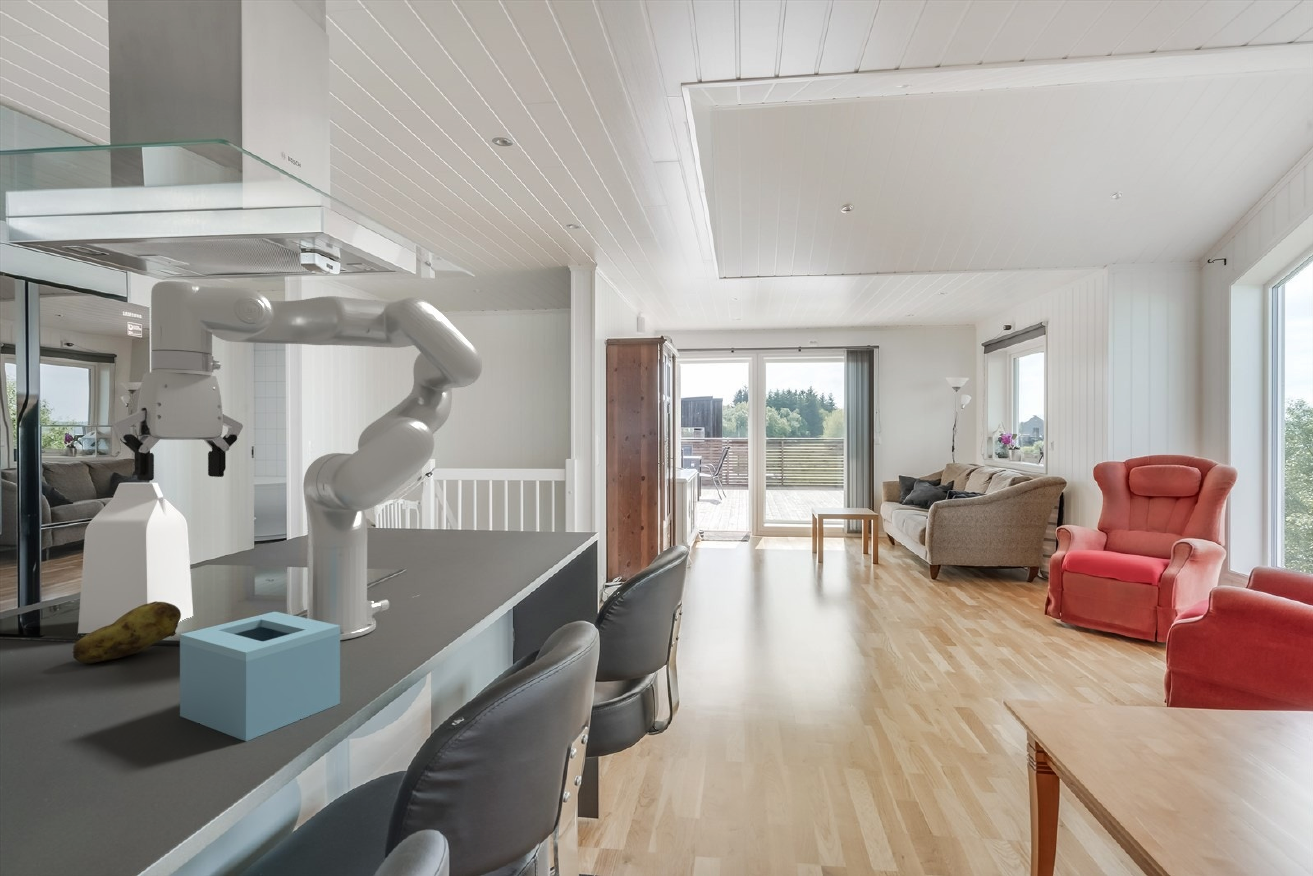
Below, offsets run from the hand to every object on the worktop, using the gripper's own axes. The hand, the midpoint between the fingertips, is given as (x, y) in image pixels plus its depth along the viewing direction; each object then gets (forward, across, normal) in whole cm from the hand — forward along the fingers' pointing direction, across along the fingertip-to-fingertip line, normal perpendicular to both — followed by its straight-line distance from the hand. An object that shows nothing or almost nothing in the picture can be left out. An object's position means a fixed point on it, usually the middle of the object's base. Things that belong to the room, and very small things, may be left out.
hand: (182, 478), depth 100 cm
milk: (+29, -7, -29) cm, 41 cm away
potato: (+29, +2, -11) cm, 31 cm away
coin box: (+28, +4, +27) cm, 39 cm away
